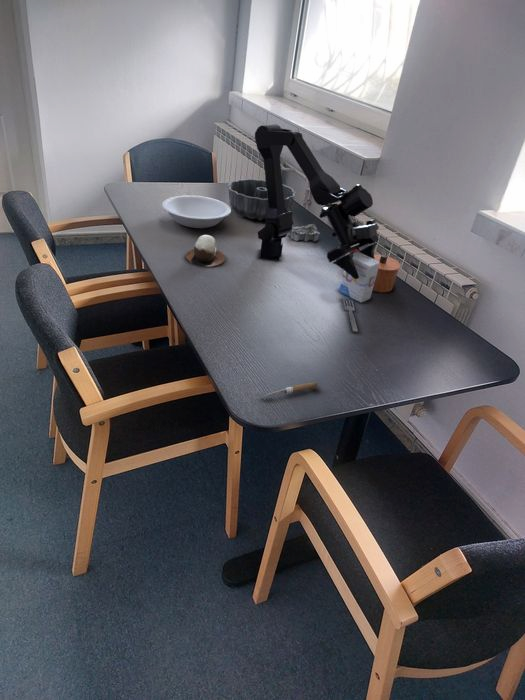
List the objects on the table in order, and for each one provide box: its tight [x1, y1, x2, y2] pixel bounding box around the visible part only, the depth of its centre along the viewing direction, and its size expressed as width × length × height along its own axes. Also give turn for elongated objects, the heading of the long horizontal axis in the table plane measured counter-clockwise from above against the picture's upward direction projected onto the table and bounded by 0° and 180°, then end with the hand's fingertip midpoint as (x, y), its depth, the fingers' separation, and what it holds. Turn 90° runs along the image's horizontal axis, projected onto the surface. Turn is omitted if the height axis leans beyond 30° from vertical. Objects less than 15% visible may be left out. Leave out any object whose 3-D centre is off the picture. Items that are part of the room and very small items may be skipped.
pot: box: [372, 269, 399, 293], centre depth 148 cm, size 10×10×7 cm
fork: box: [342, 299, 359, 334], centre depth 132 cm, size 17×3×1 cm, turn 178°
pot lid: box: [374, 254, 402, 271], centre depth 145 cm, size 11×11×3 cm
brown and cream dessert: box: [185, 234, 226, 267], centre depth 150 cm, size 12×10×10 cm
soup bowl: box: [161, 194, 232, 229], centre depth 172 cm, size 24×24×7 cm
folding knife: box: [260, 381, 319, 399], centre depth 100 cm, size 14×2×2 cm, turn 115°
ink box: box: [338, 252, 380, 304], centre depth 139 cm, size 9×5×12 cm, turn 45°
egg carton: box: [287, 223, 321, 242], centre depth 174 cm, size 11×8×4 cm
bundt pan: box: [226, 178, 297, 222], centre depth 188 cm, size 26×26×10 cm
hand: (366, 274), depth 137 cm, fingers open, 9 cm apart
